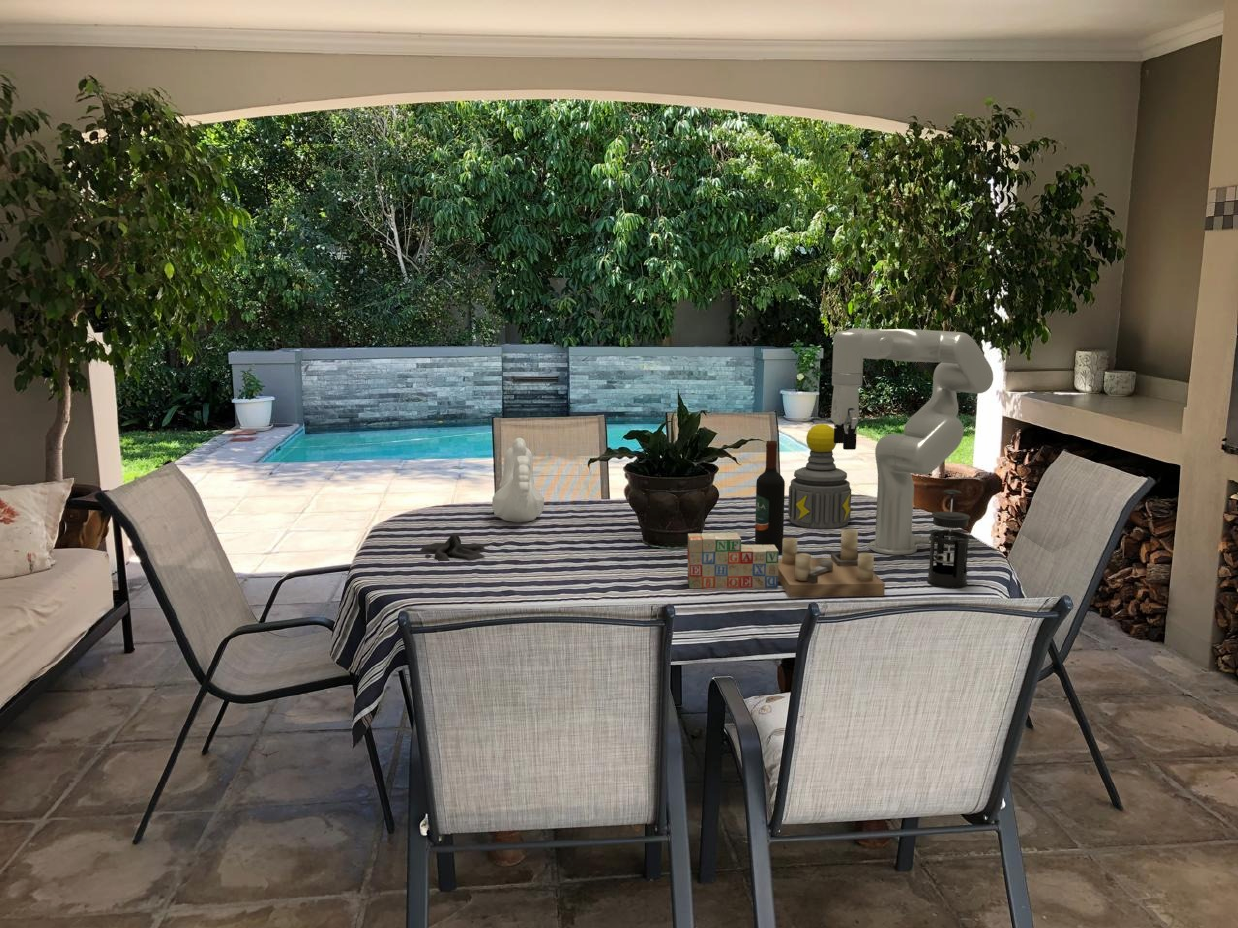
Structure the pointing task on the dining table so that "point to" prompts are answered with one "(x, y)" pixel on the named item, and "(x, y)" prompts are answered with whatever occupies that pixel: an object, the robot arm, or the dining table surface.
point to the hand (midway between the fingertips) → (844, 446)
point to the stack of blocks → (730, 562)
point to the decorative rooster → (518, 487)
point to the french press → (947, 573)
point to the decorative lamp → (820, 486)
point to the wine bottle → (770, 502)
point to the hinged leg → (809, 566)
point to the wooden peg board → (829, 576)
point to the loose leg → (849, 545)
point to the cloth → (454, 550)
